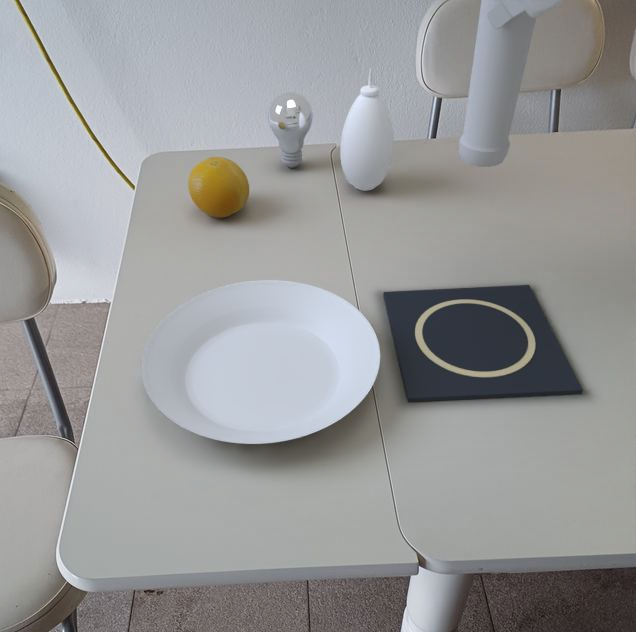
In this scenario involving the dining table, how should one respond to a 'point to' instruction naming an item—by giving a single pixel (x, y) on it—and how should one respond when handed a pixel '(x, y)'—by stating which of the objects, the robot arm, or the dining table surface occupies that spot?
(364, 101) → the sauce bottle
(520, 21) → the bottle
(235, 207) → the fruit
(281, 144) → the light bulb
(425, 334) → the mat
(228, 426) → the white plate
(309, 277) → the dining table surface
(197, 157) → the dining table surface
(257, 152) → the dining table surface
